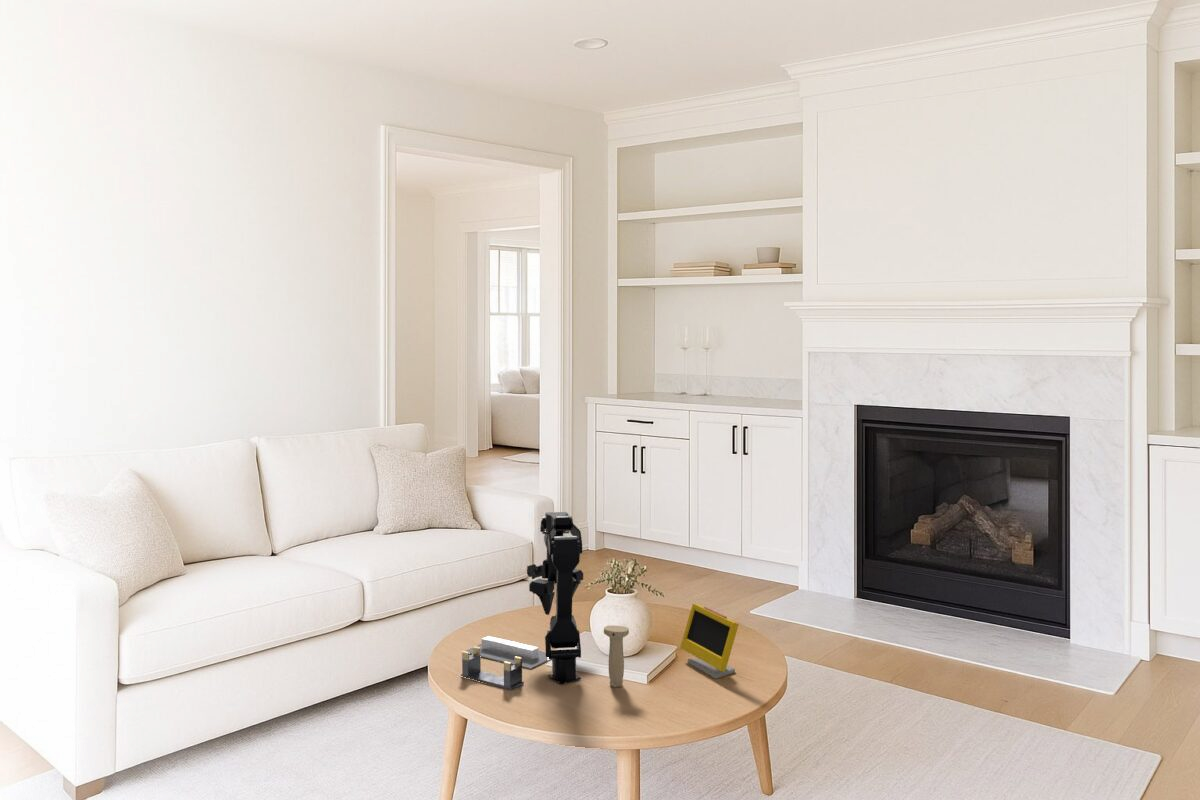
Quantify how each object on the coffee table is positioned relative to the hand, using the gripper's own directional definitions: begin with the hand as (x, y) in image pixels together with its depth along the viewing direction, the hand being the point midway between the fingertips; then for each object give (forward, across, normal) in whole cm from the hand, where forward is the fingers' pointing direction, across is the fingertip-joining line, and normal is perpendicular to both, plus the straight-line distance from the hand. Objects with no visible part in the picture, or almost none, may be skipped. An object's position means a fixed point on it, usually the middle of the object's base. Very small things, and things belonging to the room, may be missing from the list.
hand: (557, 610), depth 268 cm
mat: (+12, +9, -10) cm, 18 cm away
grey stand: (+12, +27, -1) cm, 30 cm away
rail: (+12, +9, -10) cm, 18 cm away
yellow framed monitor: (+12, -12, +43) cm, 46 cm away
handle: (+12, +12, +28) cm, 32 cm away
